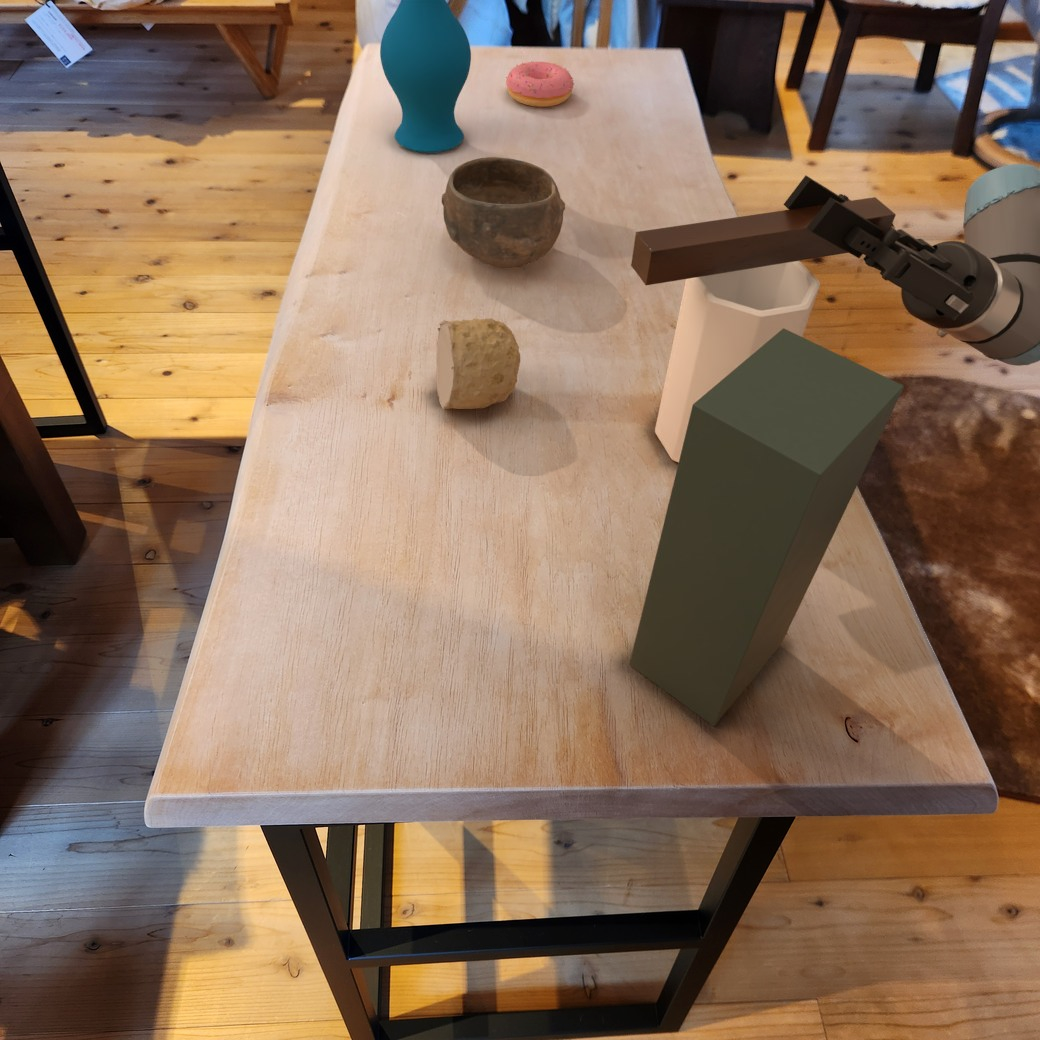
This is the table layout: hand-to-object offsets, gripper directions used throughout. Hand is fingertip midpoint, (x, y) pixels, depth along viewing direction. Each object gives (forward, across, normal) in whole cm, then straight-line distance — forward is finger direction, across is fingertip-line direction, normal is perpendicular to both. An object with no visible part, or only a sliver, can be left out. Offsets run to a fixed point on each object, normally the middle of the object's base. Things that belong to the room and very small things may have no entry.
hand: (809, 203), depth 68 cm
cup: (-9, 0, -23) cm, 25 cm away
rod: (+1, 0, -5) cm, 5 cm away
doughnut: (-18, +82, -18) cm, 86 cm away
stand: (+1, -23, -29) cm, 37 cm away
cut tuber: (+9, +12, -34) cm, 37 cm away
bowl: (-1, +38, -28) cm, 47 cm away
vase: (0, +71, -29) cm, 76 cm away
